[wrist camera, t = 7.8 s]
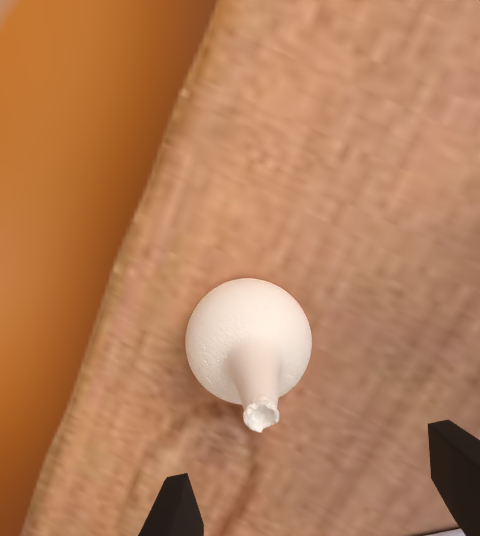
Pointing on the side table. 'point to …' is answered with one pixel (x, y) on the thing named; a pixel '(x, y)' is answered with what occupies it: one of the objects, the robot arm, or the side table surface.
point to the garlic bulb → (249, 346)
